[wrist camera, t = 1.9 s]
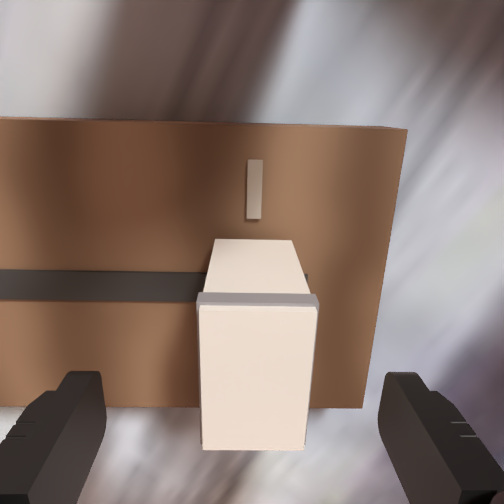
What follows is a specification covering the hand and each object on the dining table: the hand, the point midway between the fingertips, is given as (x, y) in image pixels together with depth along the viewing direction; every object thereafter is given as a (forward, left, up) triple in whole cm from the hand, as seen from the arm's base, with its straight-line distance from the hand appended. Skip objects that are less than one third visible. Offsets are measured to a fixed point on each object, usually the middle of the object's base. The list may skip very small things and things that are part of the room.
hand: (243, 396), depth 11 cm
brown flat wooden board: (+8, 0, -10) cm, 13 cm away
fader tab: (0, 0, -6) cm, 6 cm away
